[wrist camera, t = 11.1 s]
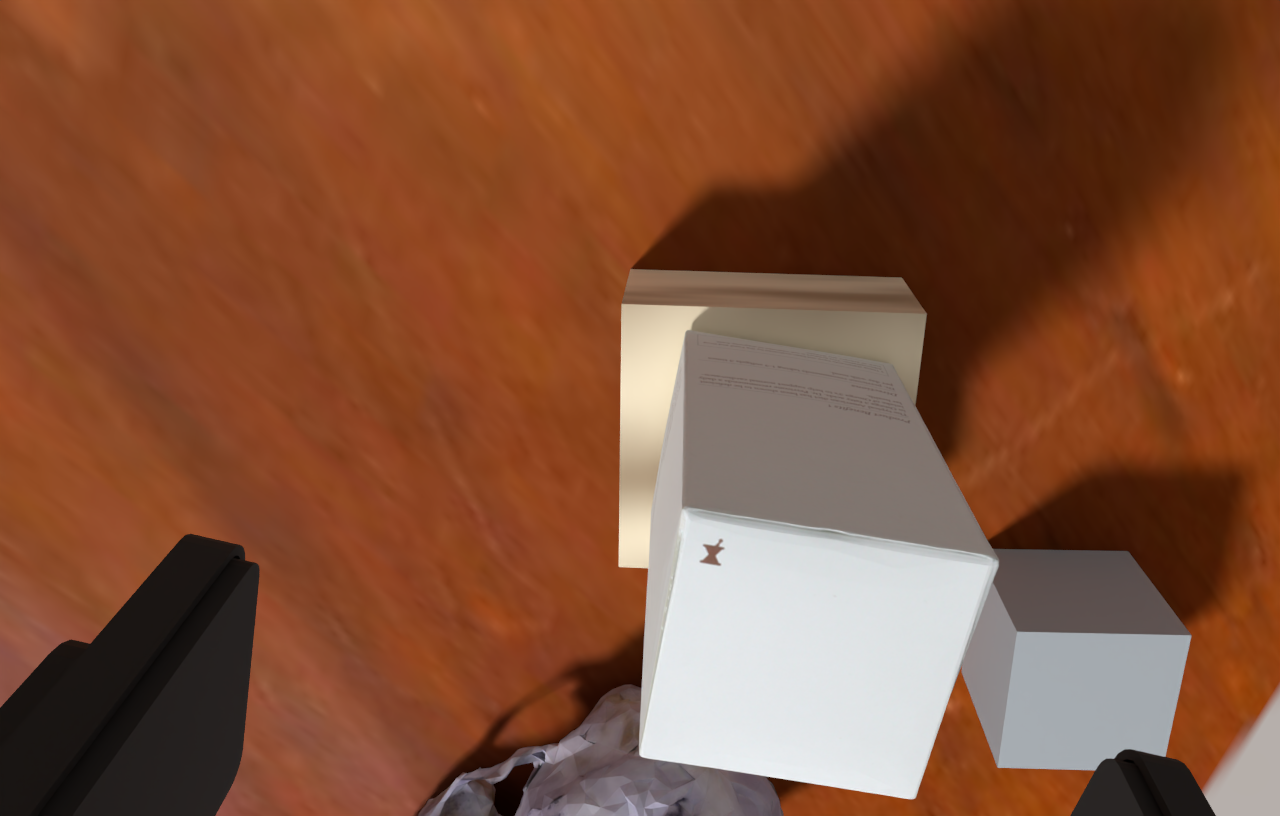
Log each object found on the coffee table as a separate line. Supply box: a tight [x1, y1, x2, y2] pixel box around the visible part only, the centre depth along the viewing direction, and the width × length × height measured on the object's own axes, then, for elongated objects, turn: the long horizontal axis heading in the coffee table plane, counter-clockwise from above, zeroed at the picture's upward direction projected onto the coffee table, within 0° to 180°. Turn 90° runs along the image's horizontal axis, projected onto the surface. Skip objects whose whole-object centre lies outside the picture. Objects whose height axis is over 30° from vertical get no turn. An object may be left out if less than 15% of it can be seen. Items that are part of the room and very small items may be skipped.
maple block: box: [619, 269, 927, 568], centre depth 39 cm, size 10×10×5 cm
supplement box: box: [639, 330, 999, 799], centre depth 30 cm, size 7×7×13 cm
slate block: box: [962, 549, 1191, 770], centre depth 41 cm, size 6×6×6 cm
